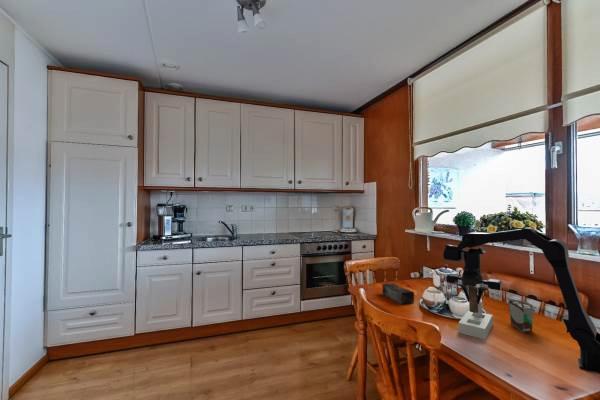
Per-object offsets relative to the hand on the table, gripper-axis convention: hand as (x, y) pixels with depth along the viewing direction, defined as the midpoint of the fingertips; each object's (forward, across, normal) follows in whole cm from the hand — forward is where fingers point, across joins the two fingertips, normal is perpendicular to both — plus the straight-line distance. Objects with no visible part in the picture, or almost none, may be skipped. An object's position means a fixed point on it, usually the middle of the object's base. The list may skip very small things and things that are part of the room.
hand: (473, 302), depth 113 cm
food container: (+12, +15, +18) cm, 26 cm away
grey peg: (+12, 0, +9) cm, 15 cm away
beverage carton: (+12, -40, +20) cm, 47 cm away
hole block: (+12, 0, +4) cm, 13 cm away
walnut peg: (+4, 0, 0) cm, 4 cm away
